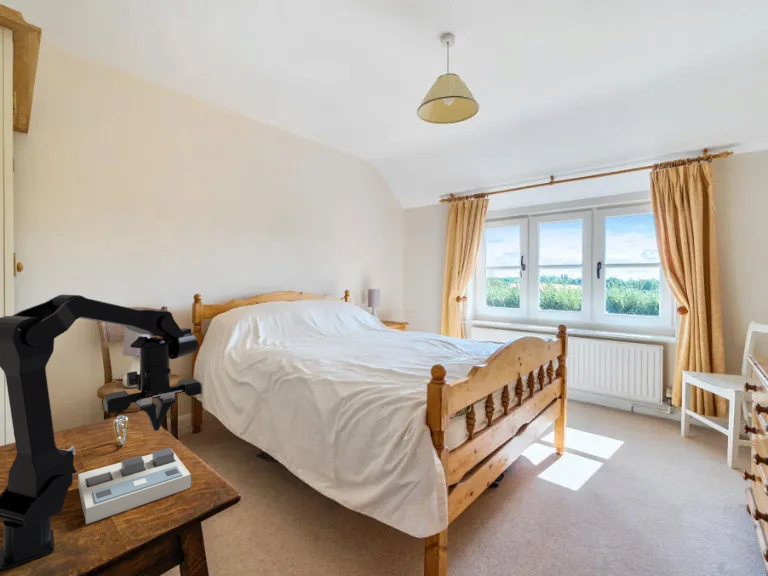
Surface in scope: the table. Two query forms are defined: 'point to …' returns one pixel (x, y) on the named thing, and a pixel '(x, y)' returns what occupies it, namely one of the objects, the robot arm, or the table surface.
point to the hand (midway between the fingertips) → (156, 430)
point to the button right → (163, 457)
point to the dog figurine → (71, 449)
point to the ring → (117, 433)
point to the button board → (130, 487)
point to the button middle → (132, 466)
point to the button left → (98, 479)
